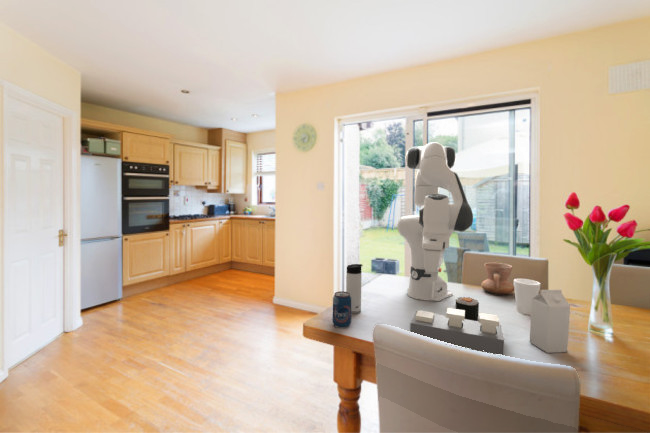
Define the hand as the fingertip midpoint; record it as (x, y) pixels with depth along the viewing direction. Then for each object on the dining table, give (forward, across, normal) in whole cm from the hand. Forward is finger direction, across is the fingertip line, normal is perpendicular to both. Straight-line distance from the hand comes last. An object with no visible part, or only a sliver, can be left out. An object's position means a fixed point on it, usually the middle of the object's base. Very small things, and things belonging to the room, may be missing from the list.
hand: (434, 280), depth 107 cm
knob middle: (+15, 0, +7) cm, 17 cm away
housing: (+19, 0, +7) cm, 21 cm away
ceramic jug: (+19, -64, +23) cm, 71 cm away
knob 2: (+15, -1, +17) cm, 23 cm away
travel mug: (+19, -7, -32) cm, 39 cm away
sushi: (+19, -21, +10) cm, 30 cm away
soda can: (+20, +8, -32) cm, 38 cm away
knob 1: (+18, 0, -3) cm, 18 cm away
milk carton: (+19, -8, +35) cm, 40 cm away
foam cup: (+19, -40, +32) cm, 55 cm away
